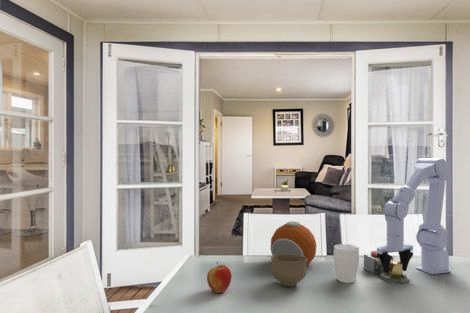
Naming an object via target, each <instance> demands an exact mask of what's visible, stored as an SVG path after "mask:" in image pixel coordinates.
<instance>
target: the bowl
mask: <svg viewBox="0 0 470 313" xmlns="http://www.w3.org/2000/svg"><path fill="white" fill-rule="evenodd" d="M270 259H271V268H270V269H271V274H272V276H273V277H274V278H275V279H276V280H277V281H278V282H279V283H280V284H281V285H282V286H284V287H295V286H297V284H298V283H300V282H301V281H302V280H304V279H305V277H306V275H307V267H306V262H307V258H306V257H304V256H300V255H294V254H276V255H272V254H271V256H270Z"/></svg>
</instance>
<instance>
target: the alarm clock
mask: <svg viewBox="0 0 470 313" xmlns="http://www.w3.org/2000/svg"><path fill="white" fill-rule="evenodd" d="M270 252H271V253H270V254H271V256H272V255H276V254H294V255H300V256H304V257H306V258H307V262H306V268H307V267H308V266H309V265H310V264H311V263H312V261H313V260H314V258H315V256H316V255H317V254H316V253H317V242H316V238H315V235H314V234H313V233H312V231H311V230H310V229H309V228H308V227H306V226H305V225H303V224H301V223H300V222H299V221H287V222H286V223H285V224H283V225H280V226H279V227H278V228H277V229H275V231H274V232H273V235H272V237H271V239H270Z"/></svg>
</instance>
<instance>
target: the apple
mask: <svg viewBox="0 0 470 313" xmlns="http://www.w3.org/2000/svg"><path fill="white" fill-rule="evenodd" d="M218 263H219V262H218V261H216V265H217V266H215V267H213V268H210V270H209V271H208V272H207V275H206V281H207V285H208V287H209V288H210V290H211V291H212V292H214V293H216V294H222V293H224V292H226V291H227V290H228V288H229V287H230V285H231V283H232V272H231V270H230V268H229V267H228V266H226V265H225V264H218Z"/></svg>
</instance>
